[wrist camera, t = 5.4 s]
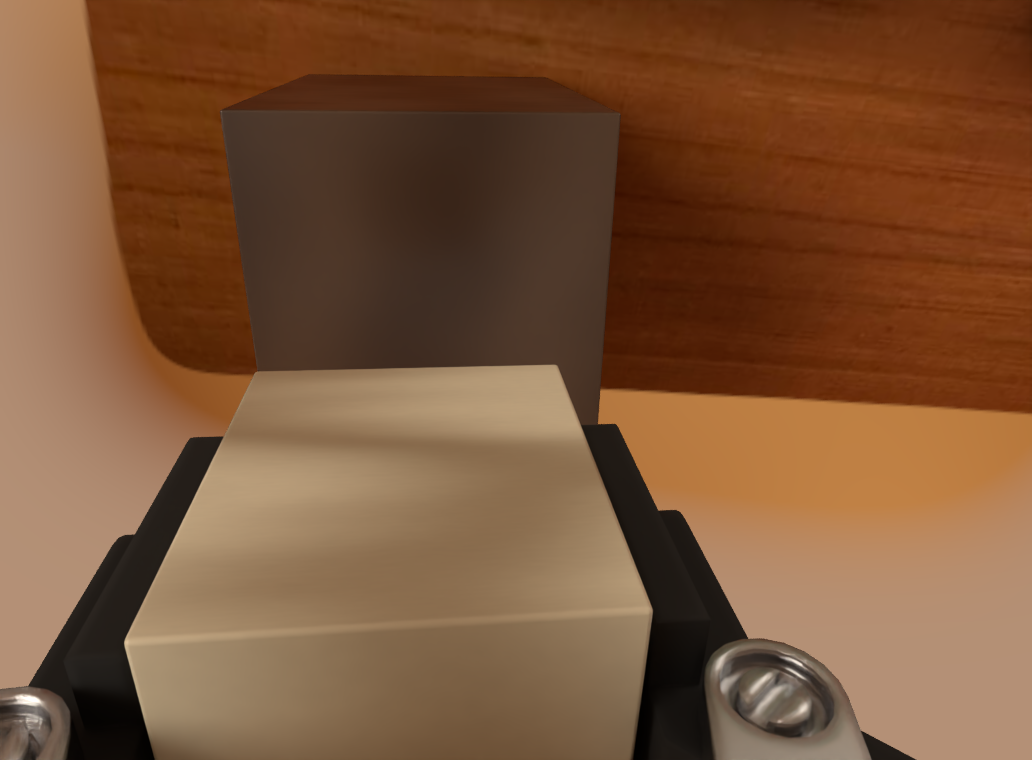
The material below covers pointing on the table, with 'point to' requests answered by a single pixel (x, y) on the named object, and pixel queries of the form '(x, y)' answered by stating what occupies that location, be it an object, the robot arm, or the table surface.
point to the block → (396, 579)
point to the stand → (426, 224)
